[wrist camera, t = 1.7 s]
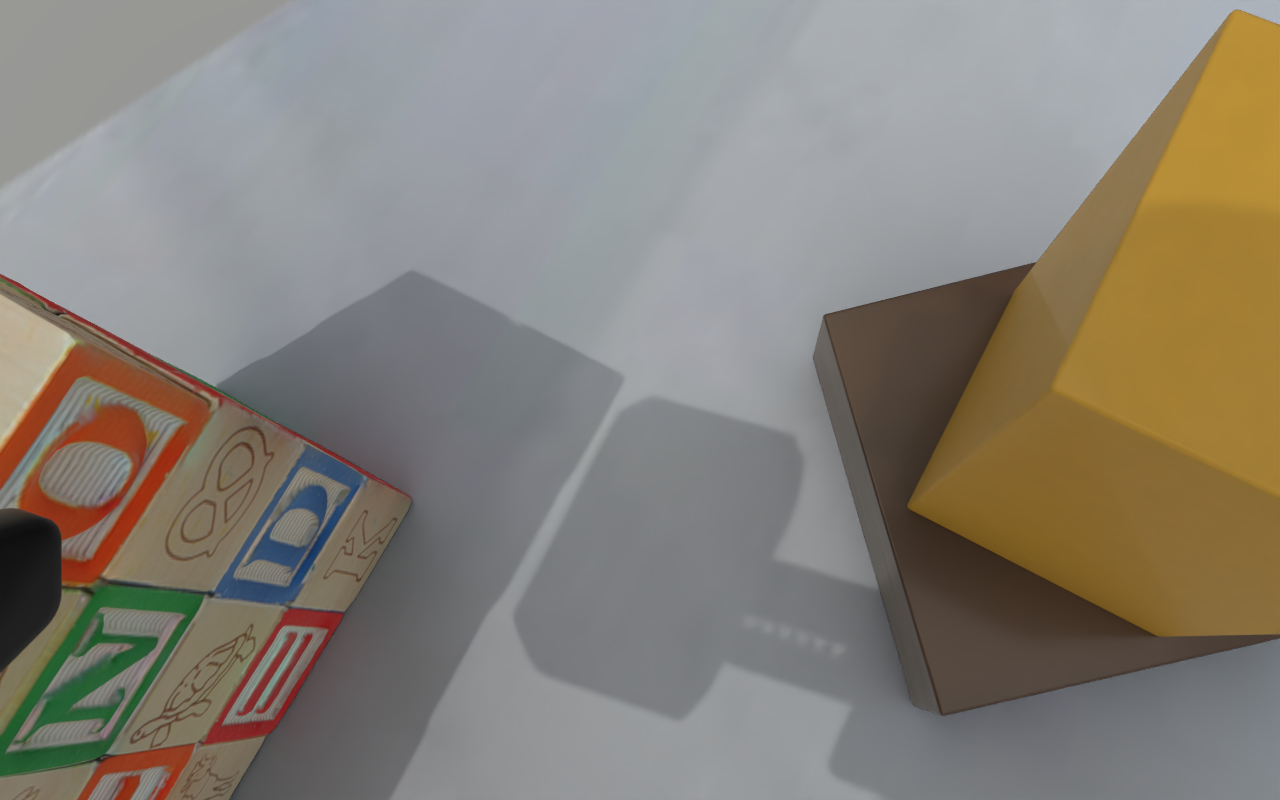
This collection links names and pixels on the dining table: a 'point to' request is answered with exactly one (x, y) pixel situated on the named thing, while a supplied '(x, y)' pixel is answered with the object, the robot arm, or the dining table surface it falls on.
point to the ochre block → (1145, 373)
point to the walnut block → (937, 557)
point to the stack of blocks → (164, 564)
